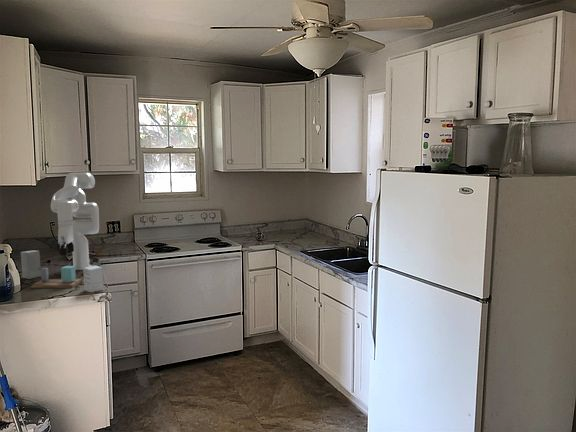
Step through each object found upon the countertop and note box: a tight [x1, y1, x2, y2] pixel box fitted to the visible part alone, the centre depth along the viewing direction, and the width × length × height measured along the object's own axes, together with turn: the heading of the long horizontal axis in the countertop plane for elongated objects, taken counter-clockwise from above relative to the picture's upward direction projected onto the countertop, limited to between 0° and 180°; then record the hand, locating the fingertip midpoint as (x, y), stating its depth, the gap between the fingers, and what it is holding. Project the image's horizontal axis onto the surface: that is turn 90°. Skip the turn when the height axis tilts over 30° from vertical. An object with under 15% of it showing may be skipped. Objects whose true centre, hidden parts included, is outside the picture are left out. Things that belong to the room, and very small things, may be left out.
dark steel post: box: [40, 267, 50, 283], centre depth 265 cm, size 3×3×8 cm
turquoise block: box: [60, 265, 77, 282], centre depth 266 cm, size 6×6×8 cm
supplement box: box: [82, 265, 104, 294], centre depth 255 cm, size 7×7×13 cm
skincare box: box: [20, 249, 42, 280], centre depth 282 cm, size 8×7×16 cm
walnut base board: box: [30, 278, 83, 289], centre depth 266 cm, size 14×22×2 cm, turn 93°
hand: (67, 253), depth 265 cm, fingers open, 9 cm apart
